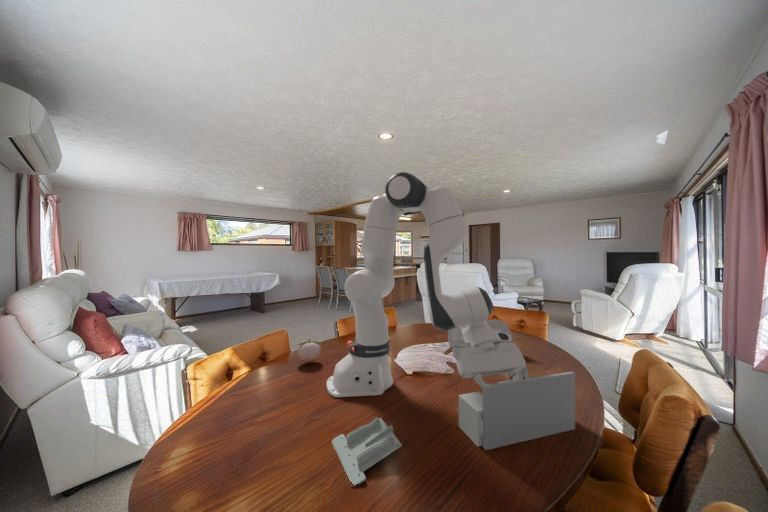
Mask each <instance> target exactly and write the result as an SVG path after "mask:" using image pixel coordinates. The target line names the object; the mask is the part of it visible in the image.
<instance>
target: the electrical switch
mask: <svg viewBox="0 0 768 512" xmlns="http://www.w3.org/2000/svg"><path fill="white" fill-rule="evenodd" d="M520 352H521V354H522V356H523V357H524V355H523V353H522V351H520ZM518 372H519V379H518V380H521V379H527V378H530V375H529V371H528V368H527V365H525V367H524V368H523V369H522V370H520V371H518ZM508 376H509V380H513V376H511V375H510V373H509V372H508Z"/></svg>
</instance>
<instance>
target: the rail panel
mask: <svg viewBox="0 0 768 512" xmlns="http://www.w3.org/2000/svg"><path fill="white" fill-rule="evenodd" d="M482 394H483V418H482V419H481V434H482V435H483V446H482V448H483V449H484V450H485V451H488V450H493V449H497V448H501V447H505V446H510V445H515V444H519V443H521V442H522V443H523V442H526V441H531V440H535V439H536V440H537V439H539V438H543V437H548V436H552V435H557V434H561V433H565V432H569V431H573V430H576V373H575V372H573V371H565V372H560V373H554V374H547V375H541V376H535V377H529V378H527V379H521V380H515V381H508V382H502V383H498V382H496V383H491V384H490V383H489V385H483V390H482Z"/></svg>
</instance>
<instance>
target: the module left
mask: <svg viewBox="0 0 768 512" xmlns="http://www.w3.org/2000/svg"><path fill="white" fill-rule="evenodd" d="M482 418H483V392H482V393H481V392H480V391H475V392H468V393H462V394H458V427H459V429H460V430H462V432H463V433H464V434H465V435H466V436H467V437H468V438H469V439H470V440H471V441H472V442H473V444H474V445H475V446H476V447H478V448H479V447H483V435H482V434H481V419H482Z"/></svg>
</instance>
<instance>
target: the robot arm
mask: <svg viewBox="0 0 768 512" xmlns="http://www.w3.org/2000/svg"><path fill="white" fill-rule="evenodd" d="M384 190H385V195H384V194H381V195H380V194H379V195H377V196H375V197H374V198H372V199H371V202H370V204H369V207H368V210H367V212H366V217H365V221H364V228H363V232H362V240H361V247H360V249H361V252H362V254H363V262H364V265H363V268H364V269H358V270H356V271H354V272H353V273H352V274H350V275H349V276H348V277H347V278H346V279H345V282H344V285H343V286H344V287H343V288H344V293H345V296H346V297H347V298H348V300H349V301H350V302H351V306H352V309H353V313H354V319H355V321H354V322H355V341H352V340H348V341H347V342H346V343H347V344H346V345H347V347H348V348H349V353H348V354H347V355H345V356H344V357H343V358H342V359H341V360H339V362H337V363H336V365H335V366H334V370H333V374H332V375H331V376H330V377H328V379H327V380H326V383H325V384H326V385H325V386H326V390H327V392H328V393H327V394H329V395H330V396H331V397H334V398H348V397H349V398H350V397H365V396H366V397H367V396H368V397H369V396H381V395H383V394H384V392H385V391H386V390H387V389H389V388H391V387H392V386H393V384H394V379H393V376H392V371H391V366H390V352H391V349H390V348H391V347H390V340H389V319H388V315H386V312H385V309H384V308H385V307H384V304H383V298H385V297H387V296H388V295H389V294H390V293H391V292H392V290H393V289H394V288H395V284H396V281H395V277H394V250H395V245H396V240H397V239H396V238H397V231H398V226H399V225H398V224H399V220H400V218H401V216H402V215H403V216H409V215H415V214H420V213H422V214H423V216H424V218H425V221H426V222H425V223H426V224H427V229H428V232H429V237H428V243H426V245H424V249H423V263H424V272H425V280H426V282H425V283H426V288H427V289H426V290H427V297H428V298H427V299H428V306H427V307H428V309H427V310H428V318H429V320H430V322H431V324H432V327H434V328H436V329H437V330H440V331H443V332H448V330H450V329H453V328H455V327H457V326H459V328H460V329H461V330H462V333H463V338H464V341H465V344H456V345H455V346H454V347H452V349H451V352H452V355H453V357H454V359H455V363H456V367H457V370H458V373H459V375H460V377H461V378H462V379H468V378H473V380H474V381H475V383H477V385H479V387H480V388H481V390H482V391H483V385H490V383H486V382H485V380H484V379H482V378H483V377H484V376H490V375H491V376H493V375H498V374H499V375H501V374H505V373H506V374H507V373H508V372H509V373H510V375H511V376H513V380H518V379H519V372H518V371H520V370H522V369H523V368H524V367H525V365H526V360H525V358H524V355H523V353H522V354H521V352H522V351H521V350H520V349H519V348H518V347H517V345H516V344H515V343H513V342H512V341H511V340H513V337H512V338H511V336H510V335H509V334H506V333H501V332H498V331H495V330H492V329H491V327H490V326H489V325H488V324H487V322H486V320H489V318H490V317H491V314H492V313H493V311H494V304H493V300H492V299H491V298H490V295H489V293H488V292H487V291H486V290H485V289H483V288H482V287H479V286H472V287H470V288H469V287H468V288H465V289H461V290H459V291H456V292H453V293H449V294H442V292H443V291H442V286H441V279H440V278H441V277H440V265H441V263H442V262H443V260H444V259H445V258H447V257H448V256H449V255H451V254H452V253H454V251H455V250H457V249H459V247H460V246H461V245H463V243H464V242H465V240H466V238H467V233H468V231H467V225H466V221H465V218H464V215H463V212H462V209H461V207H460V204H459V202H458V200H457V198H456V196H455V194H454V193H453V191H452V190H451V189H450V188H448V187H447V186H436V187H432V188H429V187H428V186H427V185H426V184H425V183H424V182H423V181H422V180H421V179H420V178H418V177H416V176H415V175H414V174H411V173H410V172H404V171H402V172H396V173H394V174H392V176H390V178H389V179H388V180H387V182H386V184H385V188H384ZM522 355H523V356H522ZM526 366H527V365H526ZM509 373H508V374H509Z"/></svg>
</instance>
